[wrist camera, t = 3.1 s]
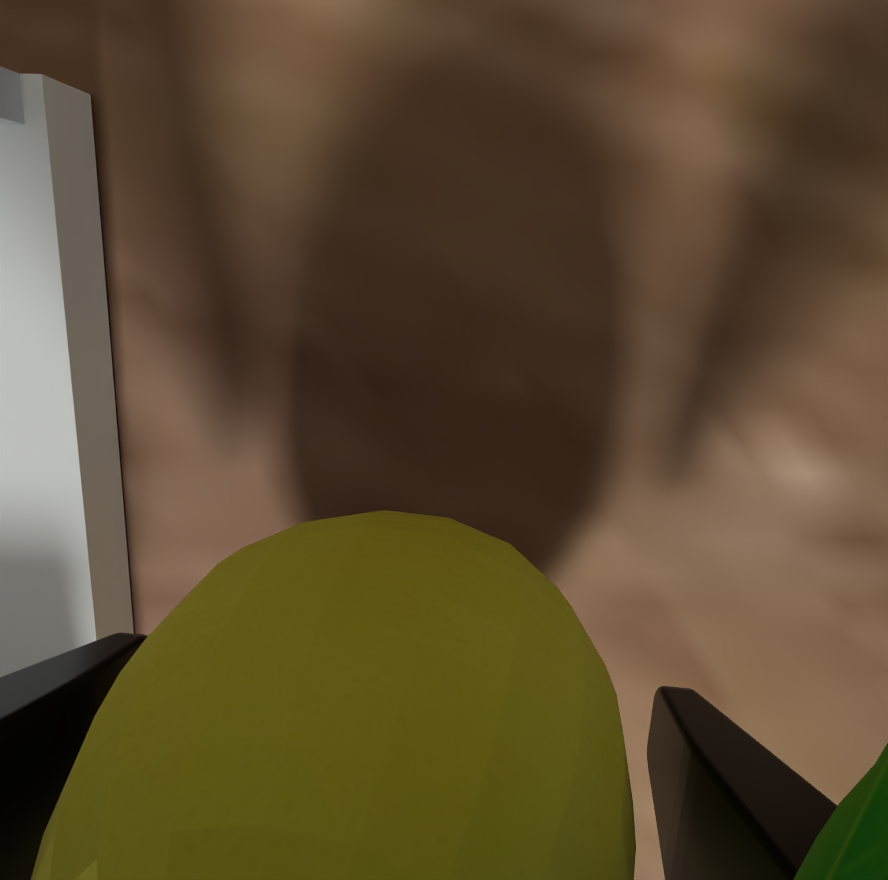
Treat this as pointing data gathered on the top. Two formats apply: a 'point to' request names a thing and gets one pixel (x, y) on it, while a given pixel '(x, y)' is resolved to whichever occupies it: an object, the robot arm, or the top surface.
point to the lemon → (375, 727)
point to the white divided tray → (55, 385)
